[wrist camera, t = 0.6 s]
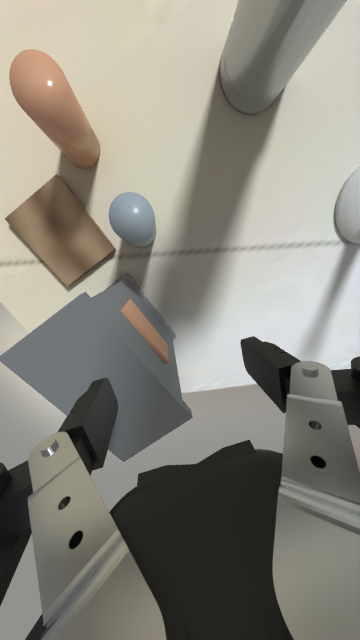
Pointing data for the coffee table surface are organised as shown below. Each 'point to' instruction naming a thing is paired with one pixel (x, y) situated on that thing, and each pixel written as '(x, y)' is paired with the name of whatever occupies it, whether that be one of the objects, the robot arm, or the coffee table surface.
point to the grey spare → (133, 219)
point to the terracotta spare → (53, 106)
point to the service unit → (108, 363)
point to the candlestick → (349, 209)
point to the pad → (60, 231)
